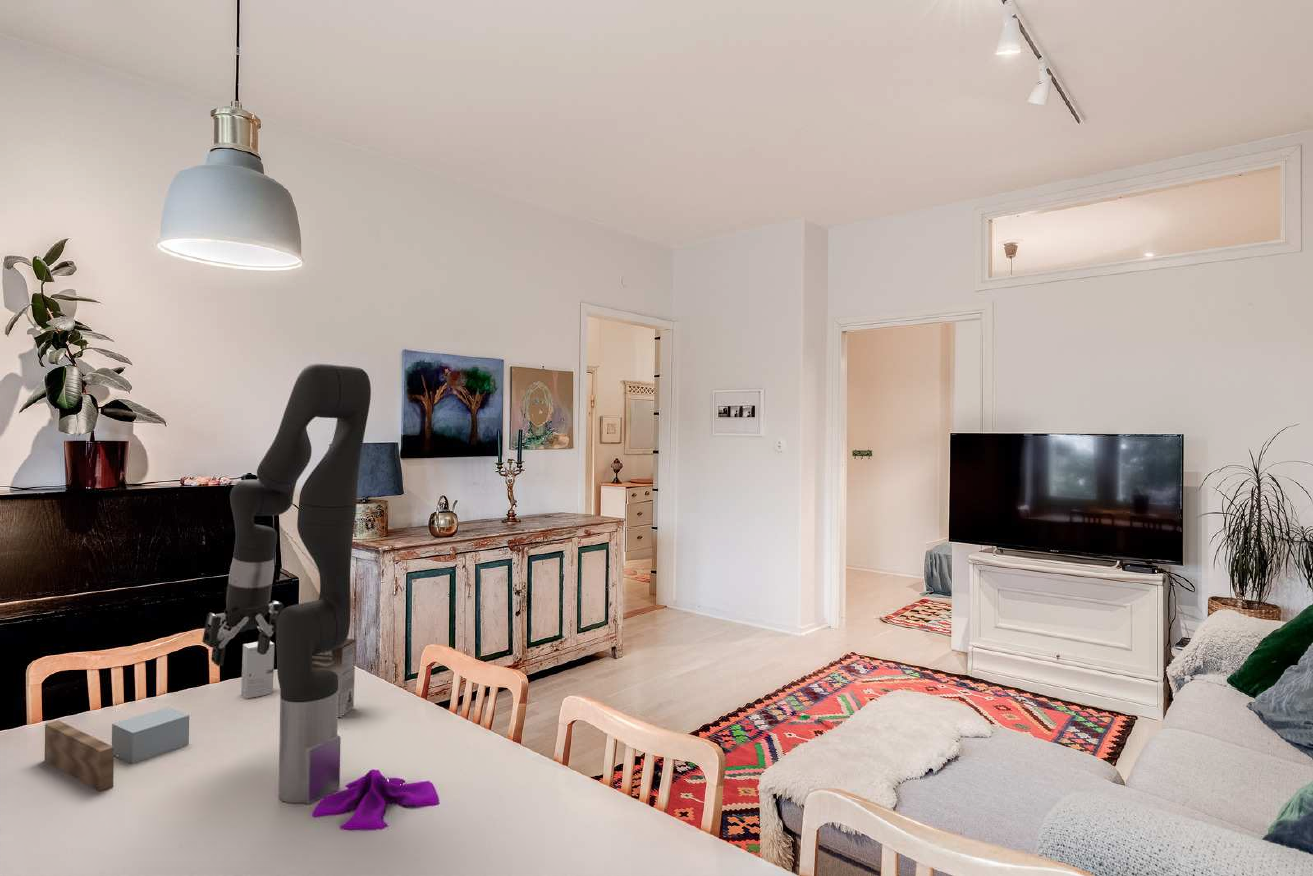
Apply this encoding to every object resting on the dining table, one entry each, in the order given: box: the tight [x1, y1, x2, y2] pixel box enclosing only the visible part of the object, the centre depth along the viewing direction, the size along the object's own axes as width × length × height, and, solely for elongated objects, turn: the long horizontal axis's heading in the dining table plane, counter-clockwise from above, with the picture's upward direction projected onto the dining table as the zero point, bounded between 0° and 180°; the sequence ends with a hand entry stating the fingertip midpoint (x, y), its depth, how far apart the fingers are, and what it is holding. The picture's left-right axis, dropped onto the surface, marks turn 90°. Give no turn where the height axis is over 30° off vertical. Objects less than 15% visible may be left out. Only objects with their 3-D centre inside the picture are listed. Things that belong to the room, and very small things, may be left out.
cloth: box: [311, 768, 440, 831], centre depth 122 cm, size 22×19×6 cm
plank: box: [44, 719, 115, 792], centre depth 129 cm, size 22×2×7 cm, turn 60°
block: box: [111, 706, 190, 764], centre depth 139 cm, size 8×10×6 cm
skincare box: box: [240, 640, 275, 700], centre depth 169 cm, size 6×4×12 cm
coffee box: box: [311, 638, 357, 718], centre depth 159 cm, size 9×6×16 cm
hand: (240, 658), depth 139 cm, fingers open, 8 cm apart
